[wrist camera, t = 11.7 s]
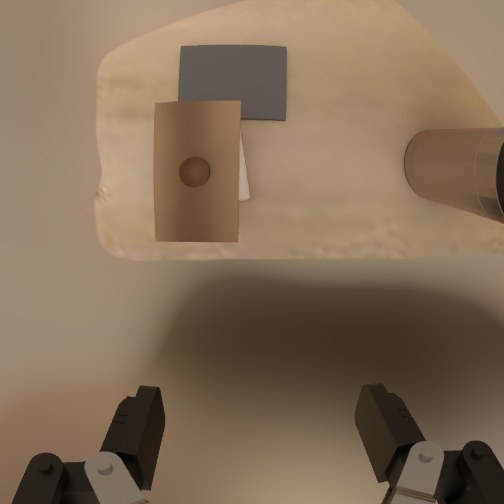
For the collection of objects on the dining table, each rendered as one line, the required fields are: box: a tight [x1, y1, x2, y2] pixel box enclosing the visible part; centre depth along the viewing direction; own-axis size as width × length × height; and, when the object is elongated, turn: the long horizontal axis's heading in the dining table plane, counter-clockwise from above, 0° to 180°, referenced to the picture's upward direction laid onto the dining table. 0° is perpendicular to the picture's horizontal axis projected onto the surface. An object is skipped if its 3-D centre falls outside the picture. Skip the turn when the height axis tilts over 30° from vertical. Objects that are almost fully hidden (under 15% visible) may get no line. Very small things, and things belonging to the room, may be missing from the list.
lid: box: [154, 101, 241, 242], centre depth 23 cm, size 6×10×4 cm, turn 178°
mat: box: [178, 45, 287, 121], centre depth 33 cm, size 12×9×1 cm
